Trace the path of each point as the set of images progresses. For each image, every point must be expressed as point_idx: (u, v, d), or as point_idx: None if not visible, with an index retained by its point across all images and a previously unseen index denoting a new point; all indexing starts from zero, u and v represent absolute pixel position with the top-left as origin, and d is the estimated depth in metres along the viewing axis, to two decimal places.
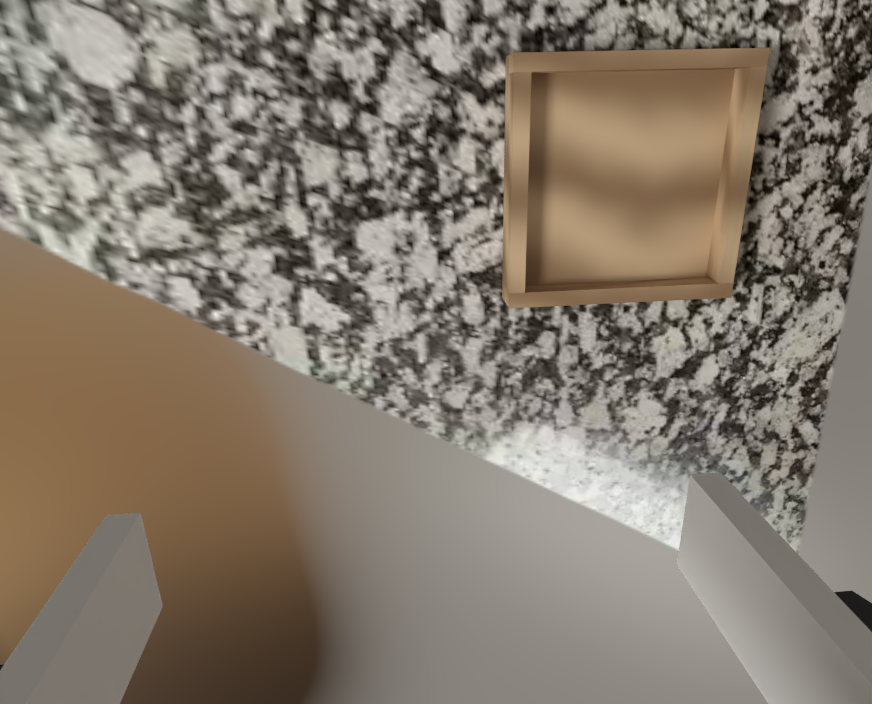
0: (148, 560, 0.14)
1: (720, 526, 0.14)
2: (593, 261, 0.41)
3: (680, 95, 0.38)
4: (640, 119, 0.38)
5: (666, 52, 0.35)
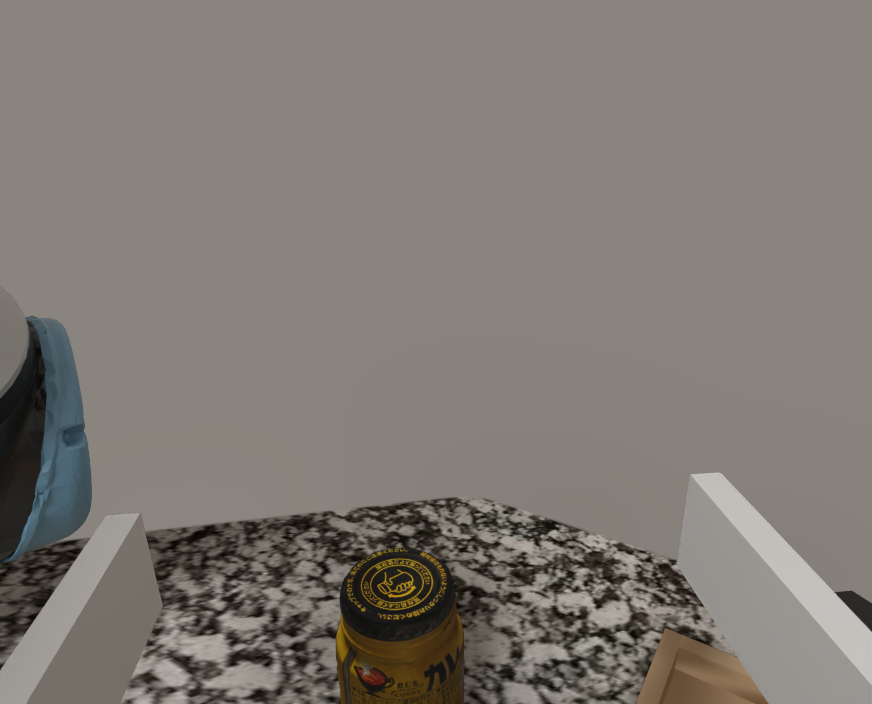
0: (148, 560, 0.14)
1: (720, 526, 0.14)
2: None
3: None
4: None
5: None
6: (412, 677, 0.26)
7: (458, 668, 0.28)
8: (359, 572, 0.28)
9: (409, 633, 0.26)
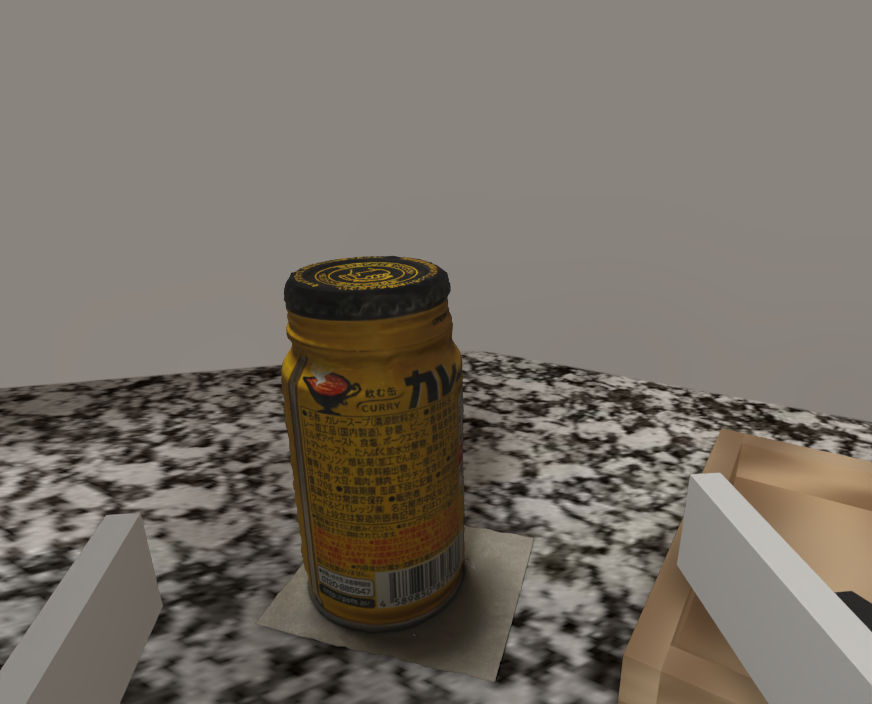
0: (148, 560, 0.14)
1: (720, 526, 0.14)
2: None
3: None
4: None
5: None
6: (388, 382, 0.18)
7: (455, 395, 0.19)
8: (314, 268, 0.20)
9: (382, 306, 0.17)
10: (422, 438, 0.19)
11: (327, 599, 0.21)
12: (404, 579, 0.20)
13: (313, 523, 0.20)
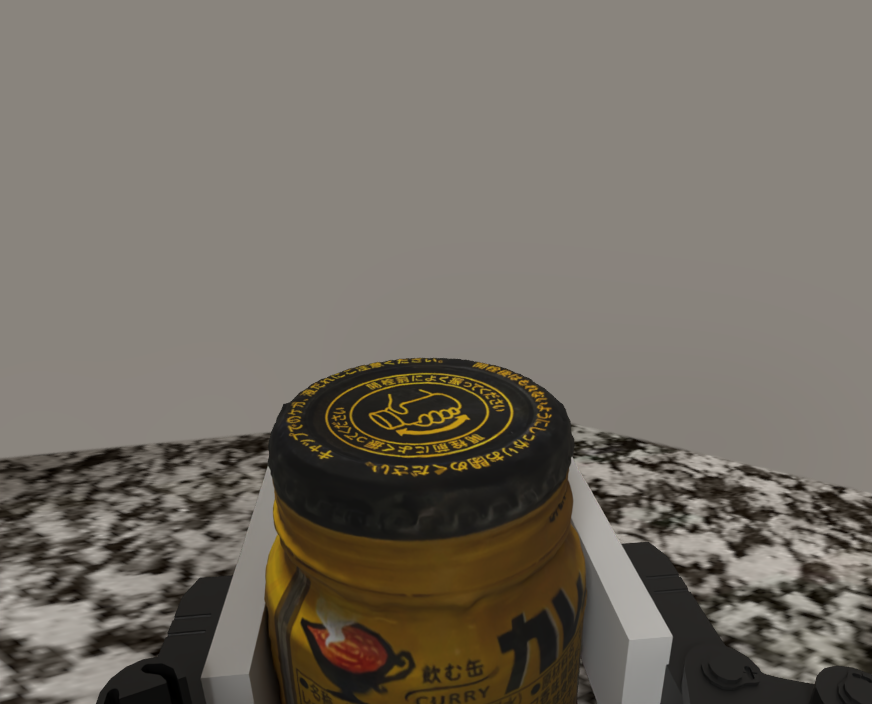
0: None
1: None
2: None
3: None
4: None
5: None
6: (467, 651, 0.09)
7: (579, 633, 0.11)
8: (325, 392, 0.11)
9: (462, 514, 0.08)
10: None
11: None
12: None
13: None
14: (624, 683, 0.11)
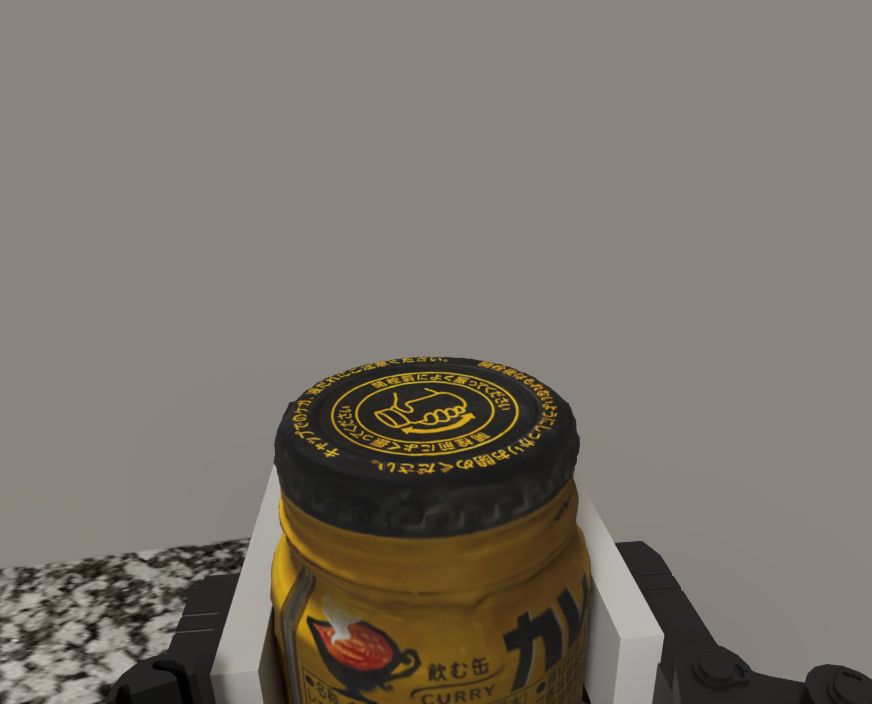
0: None
1: None
2: None
3: None
4: None
5: None
6: (472, 649, 0.09)
7: (584, 632, 0.11)
8: (331, 390, 0.11)
9: (468, 512, 0.08)
10: None
11: None
12: None
13: None
14: (616, 682, 0.11)
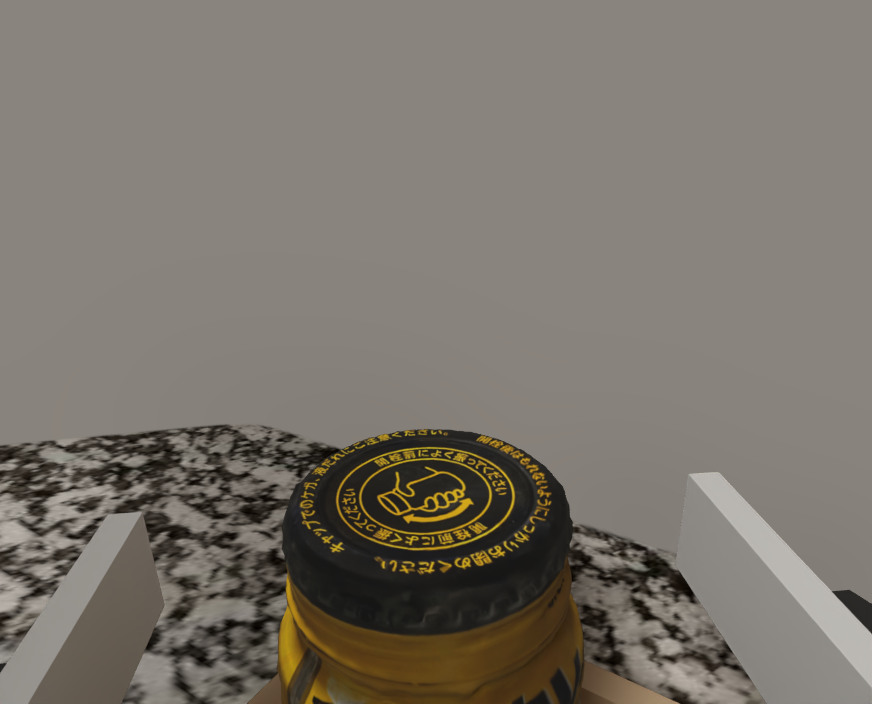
0: (150, 559, 0.14)
1: (717, 525, 0.14)
2: None
3: None
4: None
5: (268, 688, 0.19)
6: None
7: None
8: (336, 470, 0.12)
9: (465, 611, 0.09)
10: None
11: None
12: None
13: None
14: None
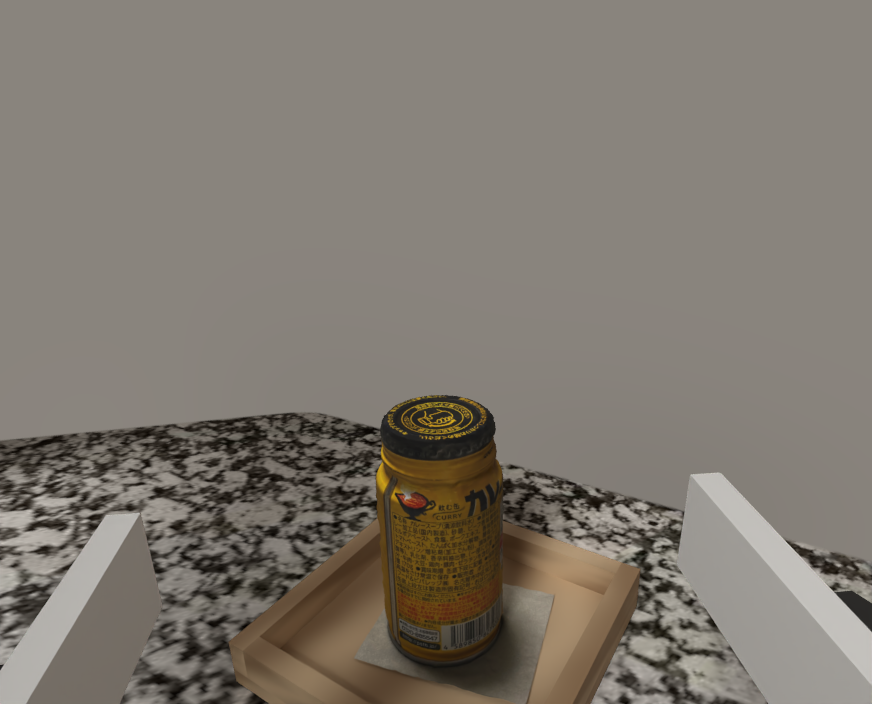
0: (148, 560, 0.14)
1: (720, 526, 0.14)
2: None
3: None
4: None
5: (353, 540, 0.36)
6: (453, 500, 0.26)
7: (498, 503, 0.28)
8: (399, 410, 0.29)
9: (451, 452, 0.26)
10: (475, 535, 0.27)
11: (405, 642, 0.29)
12: (461, 630, 0.28)
13: (397, 589, 0.29)
14: None
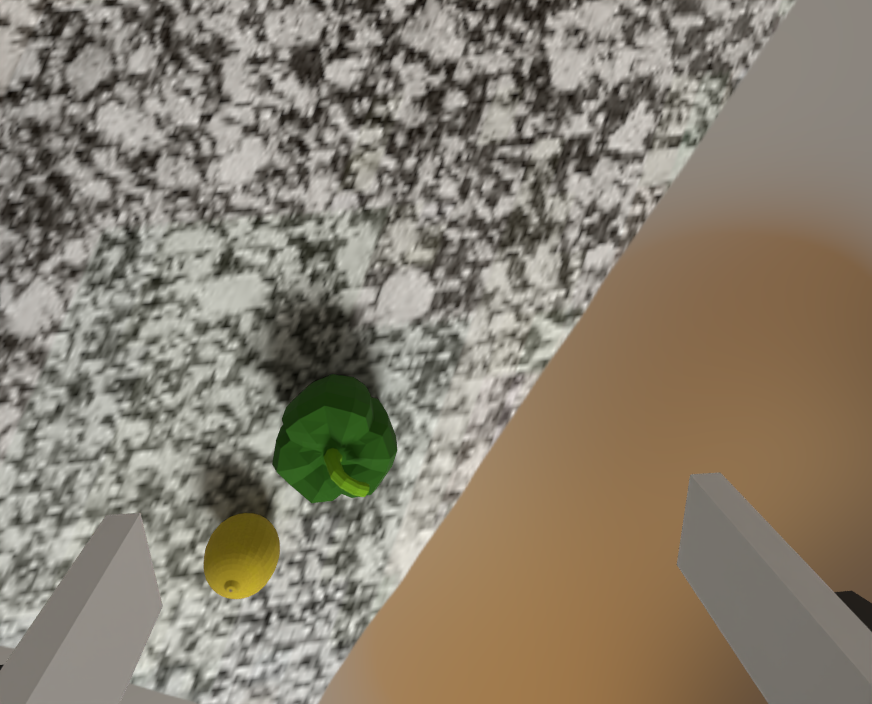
0: (148, 560, 0.14)
1: (720, 526, 0.13)
2: None
3: None
4: None
5: None
6: None
7: None
8: None
9: None
10: None
11: None
12: None
13: None
14: None
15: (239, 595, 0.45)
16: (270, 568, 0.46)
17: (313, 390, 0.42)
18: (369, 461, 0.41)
